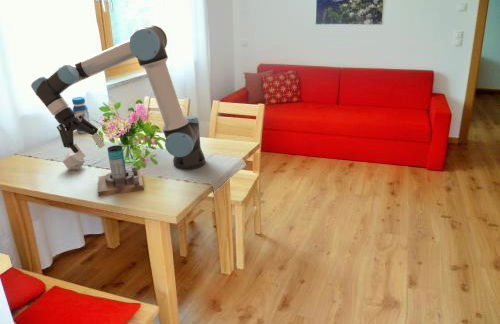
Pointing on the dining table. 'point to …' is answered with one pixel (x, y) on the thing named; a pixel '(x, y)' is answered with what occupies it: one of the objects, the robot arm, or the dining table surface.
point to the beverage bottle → (80, 109)
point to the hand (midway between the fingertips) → (93, 152)
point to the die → (73, 161)
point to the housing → (120, 183)
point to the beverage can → (117, 162)
